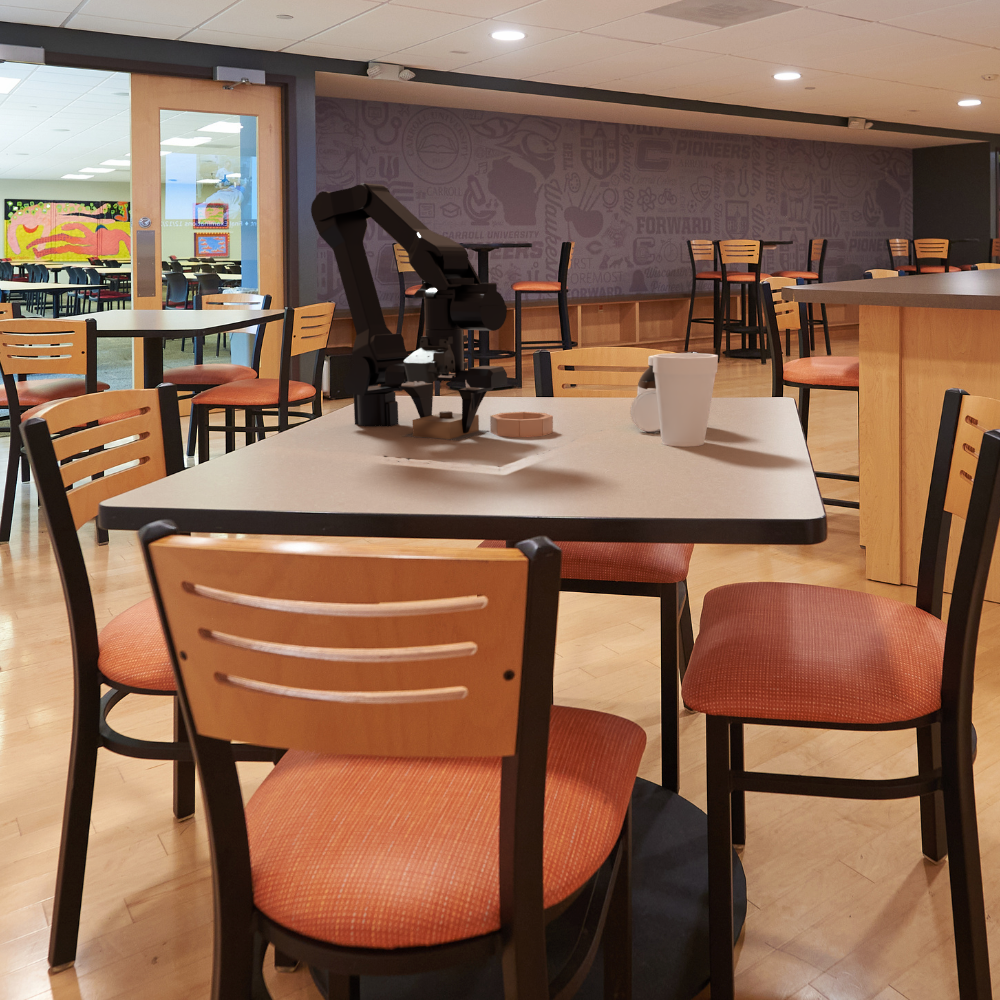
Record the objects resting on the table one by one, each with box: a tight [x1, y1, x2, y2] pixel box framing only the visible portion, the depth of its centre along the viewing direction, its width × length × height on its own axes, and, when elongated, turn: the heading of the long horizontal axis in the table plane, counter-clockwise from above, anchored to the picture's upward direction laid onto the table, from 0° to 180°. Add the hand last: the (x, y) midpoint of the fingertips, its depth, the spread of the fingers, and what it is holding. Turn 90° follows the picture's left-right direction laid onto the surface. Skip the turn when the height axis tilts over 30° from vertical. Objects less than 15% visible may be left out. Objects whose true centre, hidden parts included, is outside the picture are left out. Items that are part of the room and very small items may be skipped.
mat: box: [402, 429, 490, 441], centre depth 152 cm, size 10×10×1 cm
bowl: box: [489, 411, 554, 438], centre depth 153 cm, size 9×9×4 cm
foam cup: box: [652, 352, 719, 448], centre depth 146 cm, size 10×9×13 cm
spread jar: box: [629, 354, 661, 434], centre depth 160 cm, size 12×11×12 cm
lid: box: [411, 410, 480, 440], centre depth 152 cm, size 6×9×3 cm
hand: (446, 431), depth 152 cm, fingers closed on lid, 6 cm apart
